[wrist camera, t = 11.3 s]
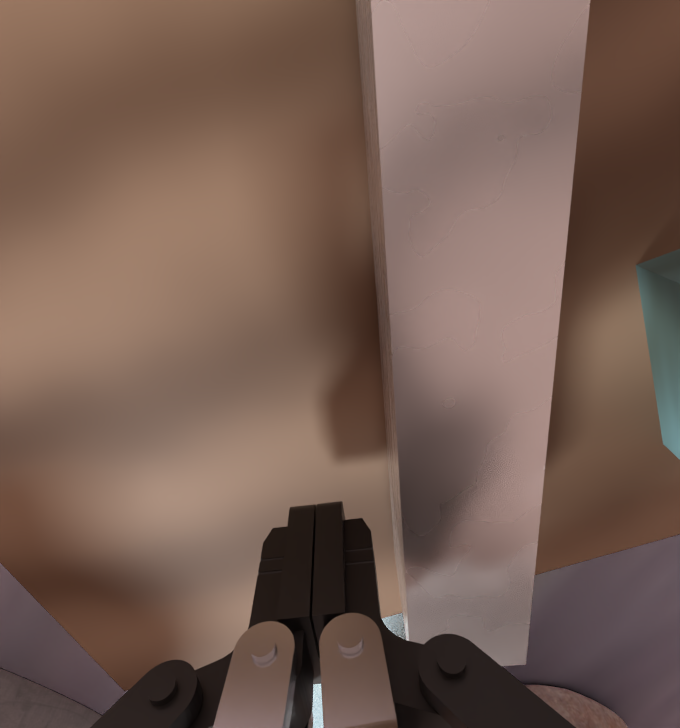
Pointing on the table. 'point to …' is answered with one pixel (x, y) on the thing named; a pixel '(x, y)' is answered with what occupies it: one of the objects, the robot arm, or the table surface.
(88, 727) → the hip flask
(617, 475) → the lock board
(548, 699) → the ceramic pot
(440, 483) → the bar
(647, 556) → the table surface
